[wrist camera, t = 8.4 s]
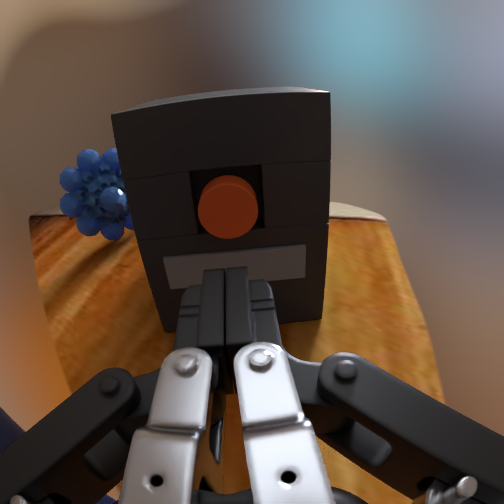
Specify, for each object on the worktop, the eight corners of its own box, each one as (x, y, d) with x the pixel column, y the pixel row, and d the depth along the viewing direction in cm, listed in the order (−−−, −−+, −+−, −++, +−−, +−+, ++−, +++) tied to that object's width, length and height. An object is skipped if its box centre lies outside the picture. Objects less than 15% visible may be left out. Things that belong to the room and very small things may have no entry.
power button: (202, 241, 18) (193, 187, 16) (204, 228, 19) (196, 177, 17) (259, 236, 18) (256, 181, 16) (257, 223, 19) (254, 172, 17)
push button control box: (164, 335, 23) (108, 115, 15) (180, 260, 32) (152, 100, 24) (322, 321, 23) (332, 92, 15) (298, 250, 32) (295, 86, 24)
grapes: (84, 271, 31) (51, 167, 25) (73, 250, 36) (46, 160, 30) (172, 232, 38) (155, 134, 31) (149, 217, 42) (133, 132, 36)
